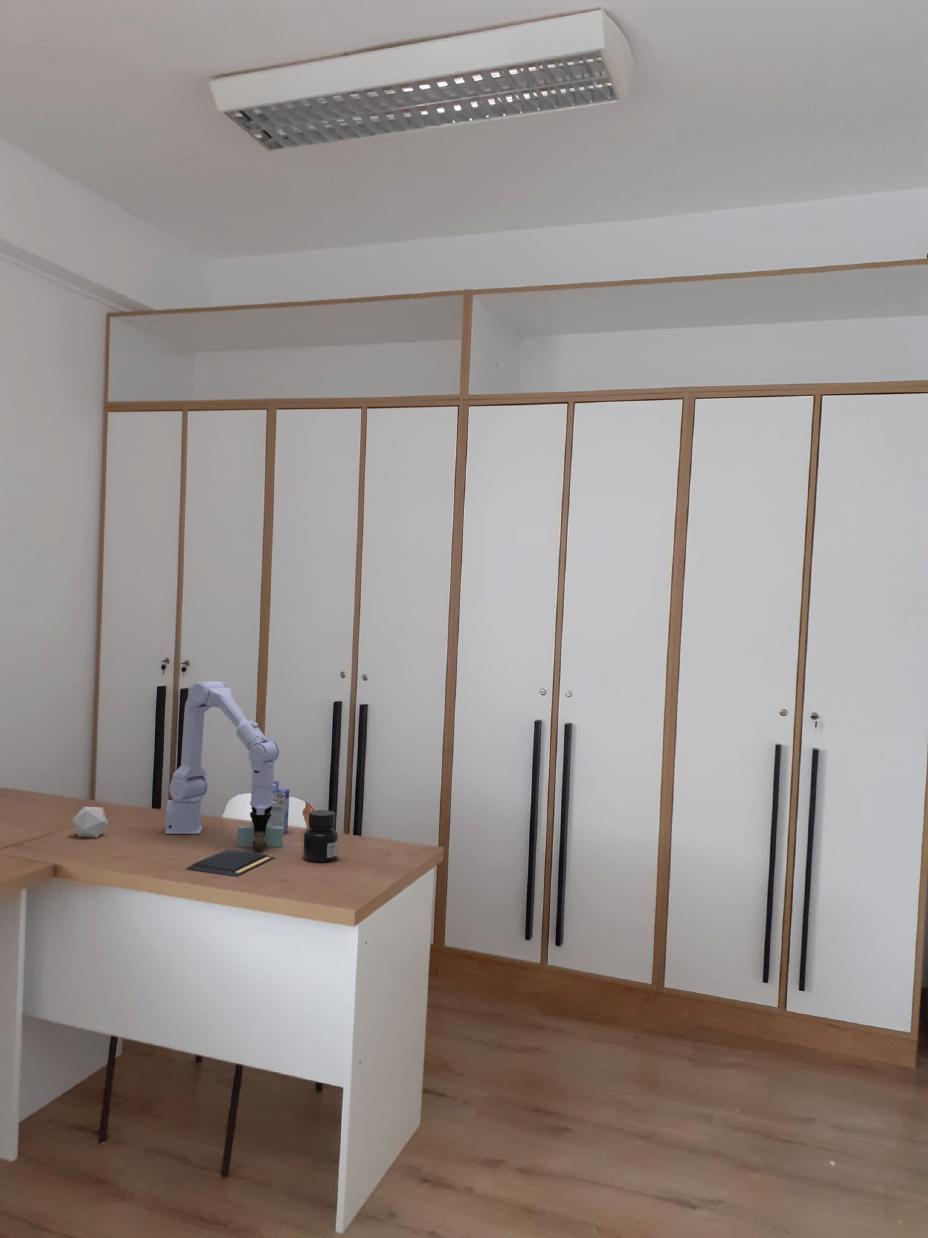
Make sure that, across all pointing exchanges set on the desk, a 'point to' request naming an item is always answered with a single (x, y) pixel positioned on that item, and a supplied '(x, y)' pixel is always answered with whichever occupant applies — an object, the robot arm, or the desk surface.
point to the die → (90, 822)
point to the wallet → (231, 863)
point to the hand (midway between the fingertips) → (260, 835)
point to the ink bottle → (321, 837)
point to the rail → (259, 841)
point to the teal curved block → (271, 836)
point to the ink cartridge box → (279, 808)
